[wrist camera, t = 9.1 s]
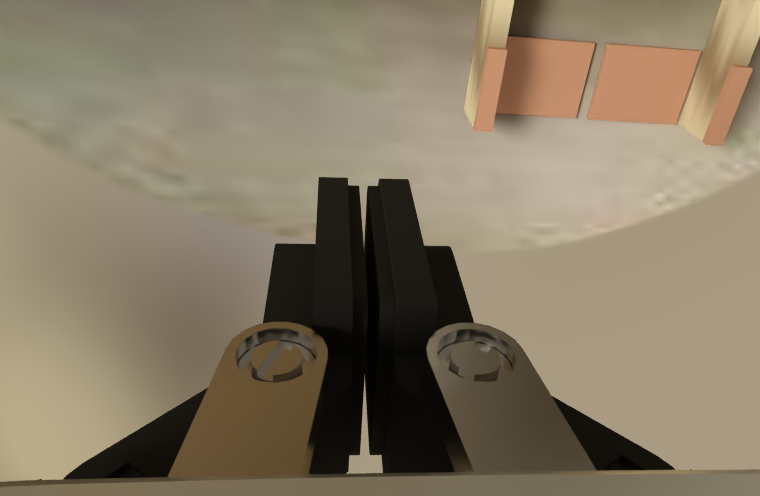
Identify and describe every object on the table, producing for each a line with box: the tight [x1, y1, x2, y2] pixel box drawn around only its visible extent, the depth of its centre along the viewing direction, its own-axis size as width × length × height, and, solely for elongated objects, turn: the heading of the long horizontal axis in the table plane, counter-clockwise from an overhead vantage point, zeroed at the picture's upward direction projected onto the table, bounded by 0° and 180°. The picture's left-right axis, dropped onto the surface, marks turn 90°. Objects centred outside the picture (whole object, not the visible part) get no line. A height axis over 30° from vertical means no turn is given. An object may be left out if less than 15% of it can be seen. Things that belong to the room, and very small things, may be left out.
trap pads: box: [473, 36, 753, 146], centre depth 36 cm, size 5×15×4 cm, turn 85°
